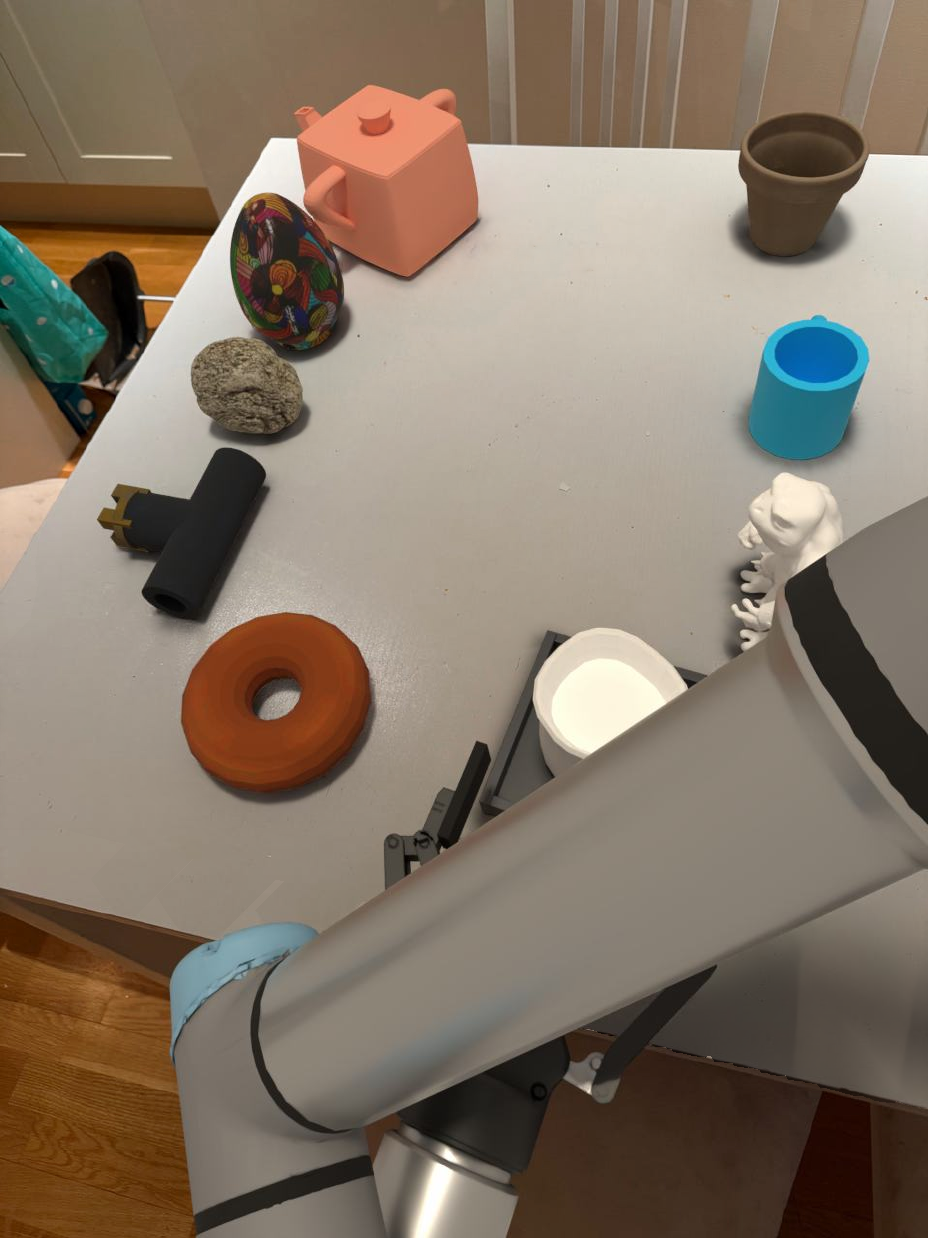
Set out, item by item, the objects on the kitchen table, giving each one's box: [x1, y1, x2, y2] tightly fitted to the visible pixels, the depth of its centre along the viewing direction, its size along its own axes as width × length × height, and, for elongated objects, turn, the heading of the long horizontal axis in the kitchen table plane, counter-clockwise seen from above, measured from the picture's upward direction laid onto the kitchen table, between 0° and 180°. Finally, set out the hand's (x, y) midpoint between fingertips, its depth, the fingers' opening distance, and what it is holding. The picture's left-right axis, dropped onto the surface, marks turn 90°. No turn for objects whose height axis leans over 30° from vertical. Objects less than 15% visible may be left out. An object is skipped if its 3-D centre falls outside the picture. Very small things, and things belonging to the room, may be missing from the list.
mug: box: [748, 314, 870, 461], centre depth 76 cm, size 12×8×8 cm
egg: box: [229, 192, 345, 351], centre depth 87 cm, size 11×11×15 cm
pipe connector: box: [96, 446, 267, 620], centre depth 78 cm, size 12×5×15 cm
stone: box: [190, 336, 304, 435], centre depth 83 cm, size 6×10×10 cm, turn 75°
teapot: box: [293, 84, 479, 277], centre depth 95 cm, size 20×22×14 cm
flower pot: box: [737, 109, 871, 257], centre depth 87 cm, size 12×11×10 cm
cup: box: [533, 626, 688, 777], centre depth 60 cm, size 10×10×10 cm
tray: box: [478, 629, 709, 817], centre depth 64 cm, size 15×15×2 cm
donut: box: [180, 611, 372, 794], centre depth 68 cm, size 15×15×5 cm
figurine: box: [730, 471, 845, 652], centre depth 63 cm, size 11×7×15 cm, turn 170°
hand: (584, 783), depth 55 cm, fingers open, 13 cm apart
